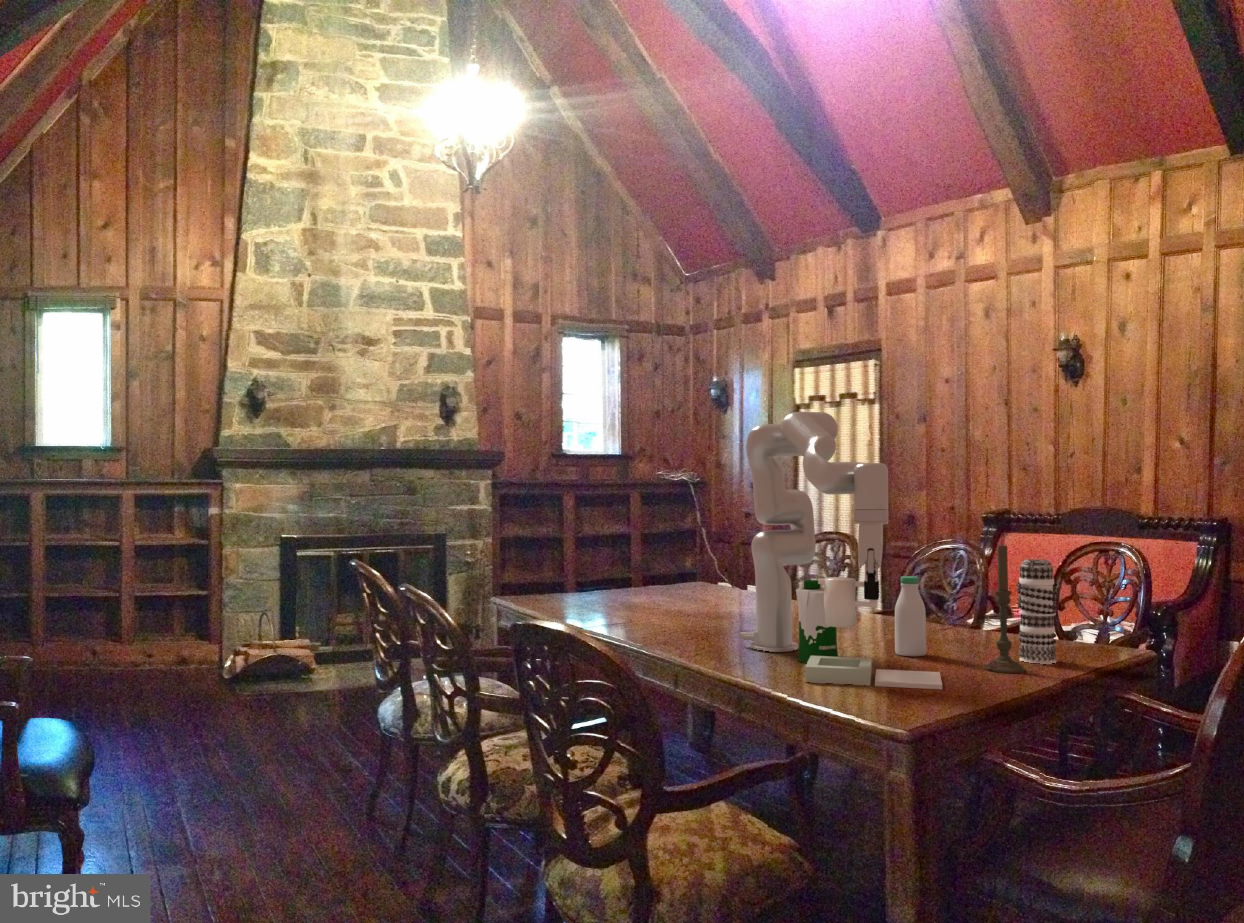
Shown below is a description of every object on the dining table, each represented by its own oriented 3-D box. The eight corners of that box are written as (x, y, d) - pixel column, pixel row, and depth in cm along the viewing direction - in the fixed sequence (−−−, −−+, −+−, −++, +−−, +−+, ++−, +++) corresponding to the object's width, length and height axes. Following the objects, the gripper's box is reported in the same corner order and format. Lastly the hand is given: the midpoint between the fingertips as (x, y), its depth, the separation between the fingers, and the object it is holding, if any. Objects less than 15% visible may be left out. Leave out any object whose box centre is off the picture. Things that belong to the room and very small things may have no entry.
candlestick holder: (976, 666, 230) (975, 541, 230) (1013, 665, 231) (1011, 541, 231) (994, 673, 221) (992, 544, 221) (1032, 672, 221) (1030, 543, 222)
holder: (805, 682, 213) (805, 666, 213) (810, 670, 226) (810, 655, 226) (870, 685, 209) (870, 669, 209) (871, 673, 222) (871, 658, 222)
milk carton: (820, 658, 242) (819, 578, 242) (844, 664, 234) (843, 582, 234) (792, 661, 238) (792, 580, 238) (816, 667, 230) (815, 584, 230)
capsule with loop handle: (816, 626, 216) (817, 579, 216) (819, 621, 223) (819, 576, 223) (876, 629, 212) (876, 581, 212) (877, 624, 219) (877, 578, 219)
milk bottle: (928, 657, 241) (926, 578, 242) (896, 656, 243) (895, 577, 243) (924, 652, 249) (923, 575, 249) (894, 651, 250) (893, 574, 251)
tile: (874, 685, 209) (874, 681, 209) (876, 673, 222) (876, 669, 222) (942, 689, 205) (942, 684, 205) (939, 676, 218) (939, 672, 218)
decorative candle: (1026, 656, 242) (1025, 557, 243) (1064, 661, 235) (1062, 559, 236) (1011, 661, 236) (1009, 559, 236) (1049, 666, 229) (1047, 561, 230)
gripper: (855, 515, 225) (856, 593, 225) (852, 518, 210) (853, 602, 210) (888, 515, 223) (889, 594, 223) (888, 519, 208) (888, 604, 207)
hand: (871, 598), depth 216 cm, fingers closed on capsule with loop handle
